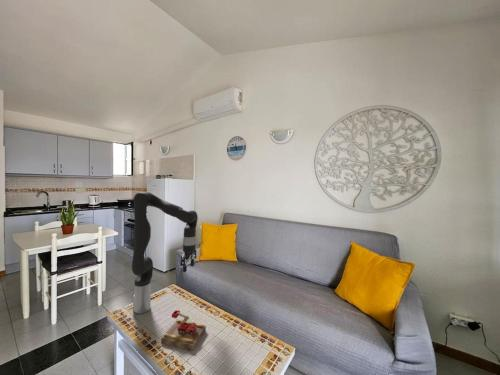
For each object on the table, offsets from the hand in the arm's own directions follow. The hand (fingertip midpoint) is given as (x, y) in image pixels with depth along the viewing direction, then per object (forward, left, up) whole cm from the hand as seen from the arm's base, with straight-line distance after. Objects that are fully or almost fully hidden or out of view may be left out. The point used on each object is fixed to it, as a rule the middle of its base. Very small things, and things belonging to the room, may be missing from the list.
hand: (188, 268), depth 128 cm
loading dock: (+8, -17, -29) cm, 34 cm away
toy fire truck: (+8, -17, -26) cm, 32 cm away
